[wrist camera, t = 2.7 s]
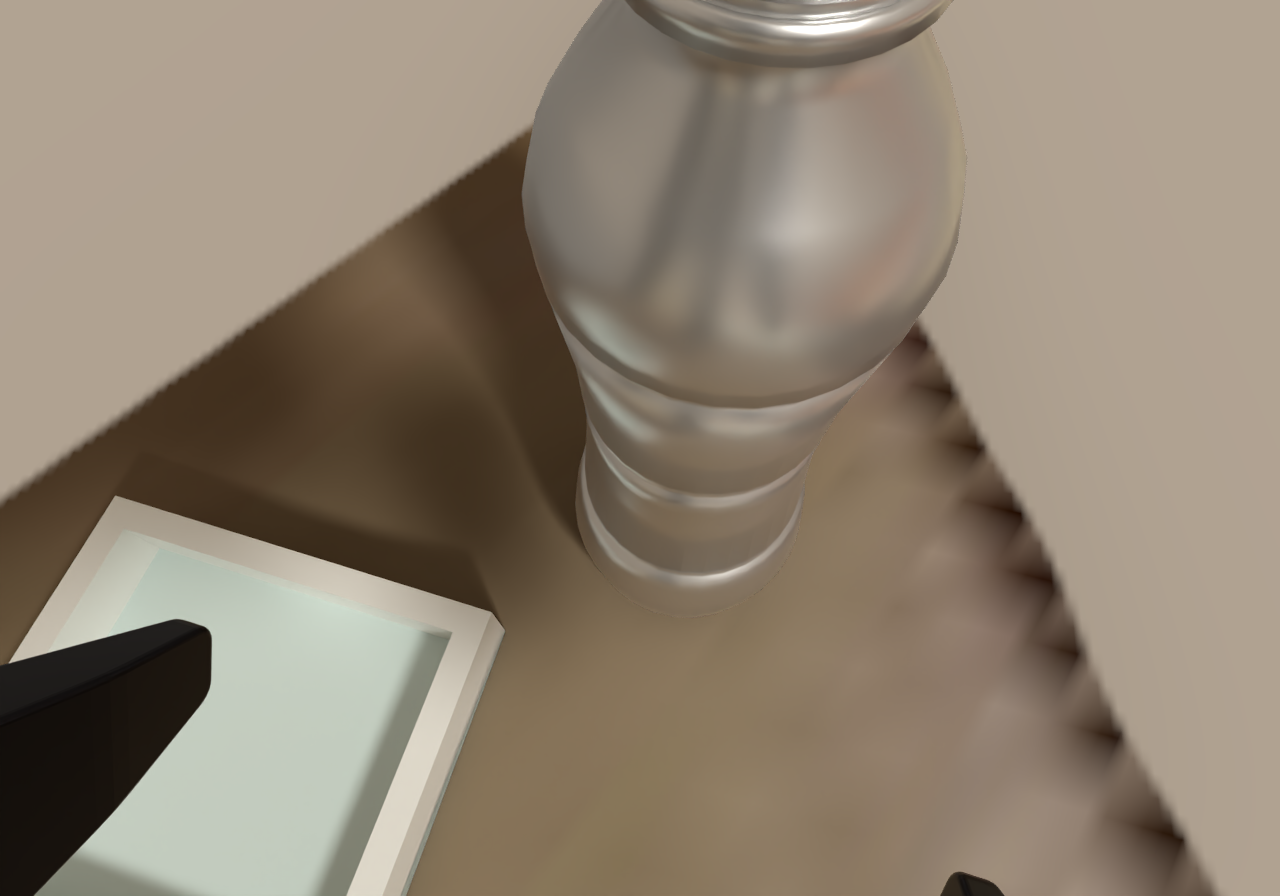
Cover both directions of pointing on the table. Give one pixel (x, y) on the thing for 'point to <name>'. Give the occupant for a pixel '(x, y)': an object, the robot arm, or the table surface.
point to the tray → (273, 714)
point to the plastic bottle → (733, 261)
